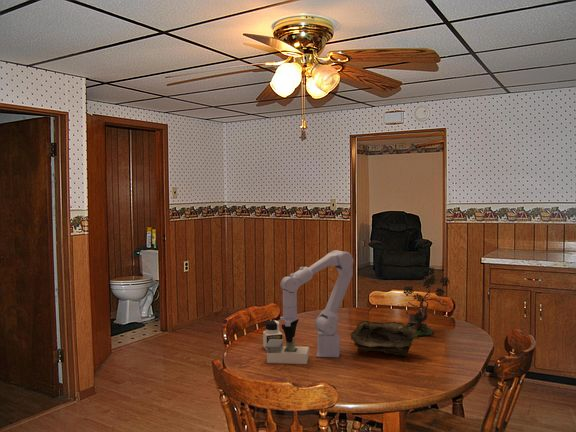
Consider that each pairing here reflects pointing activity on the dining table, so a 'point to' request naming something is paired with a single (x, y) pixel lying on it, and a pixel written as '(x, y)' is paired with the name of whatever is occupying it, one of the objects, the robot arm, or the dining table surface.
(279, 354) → the socket board
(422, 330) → the bonsai tree
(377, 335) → the dark green planter
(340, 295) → the robot arm
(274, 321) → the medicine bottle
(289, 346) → the dowel
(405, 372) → the dining table surface
